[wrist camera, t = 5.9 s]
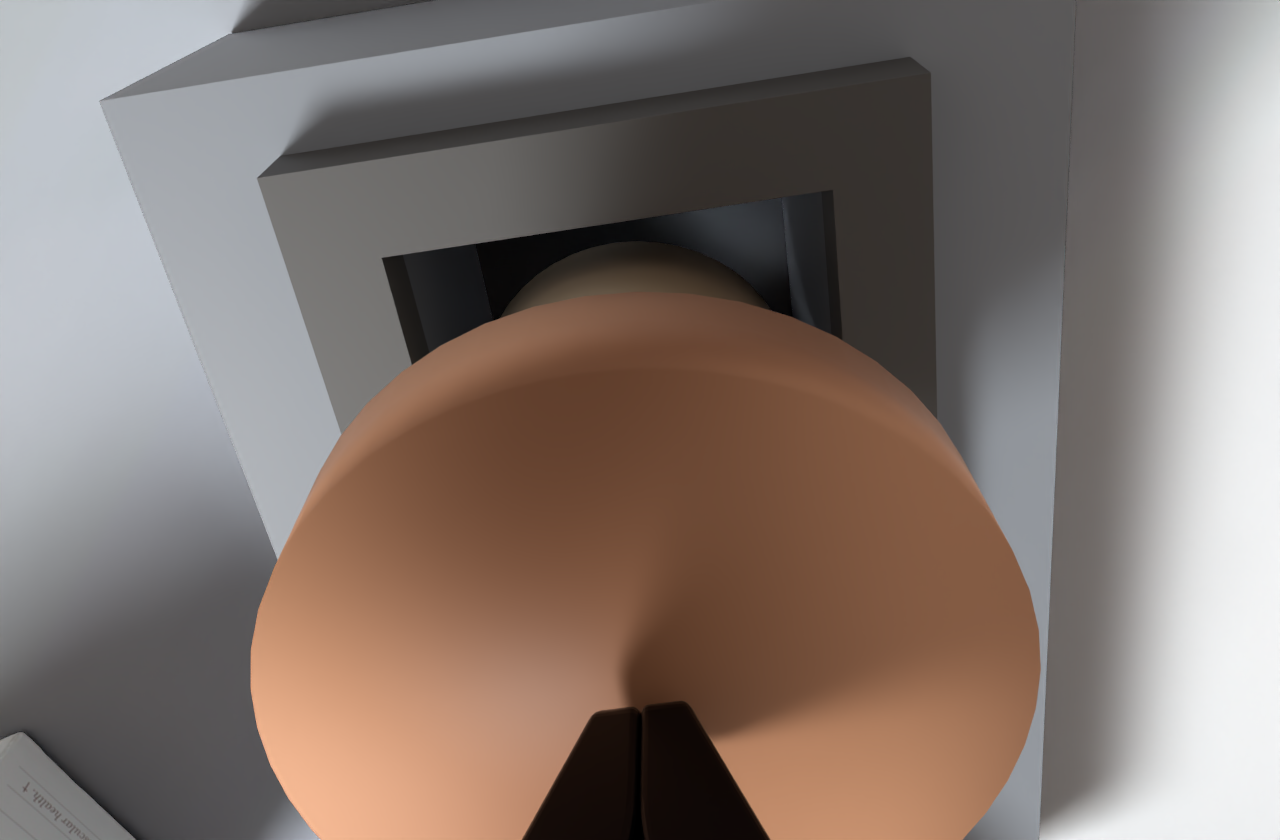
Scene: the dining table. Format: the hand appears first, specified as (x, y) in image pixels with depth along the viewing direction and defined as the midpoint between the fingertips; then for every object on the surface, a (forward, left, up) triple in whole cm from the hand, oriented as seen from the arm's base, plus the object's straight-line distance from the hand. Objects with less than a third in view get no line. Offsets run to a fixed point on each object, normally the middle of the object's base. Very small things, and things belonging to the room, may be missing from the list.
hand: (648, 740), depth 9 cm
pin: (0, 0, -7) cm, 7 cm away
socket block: (0, +6, -12) cm, 13 cm away
